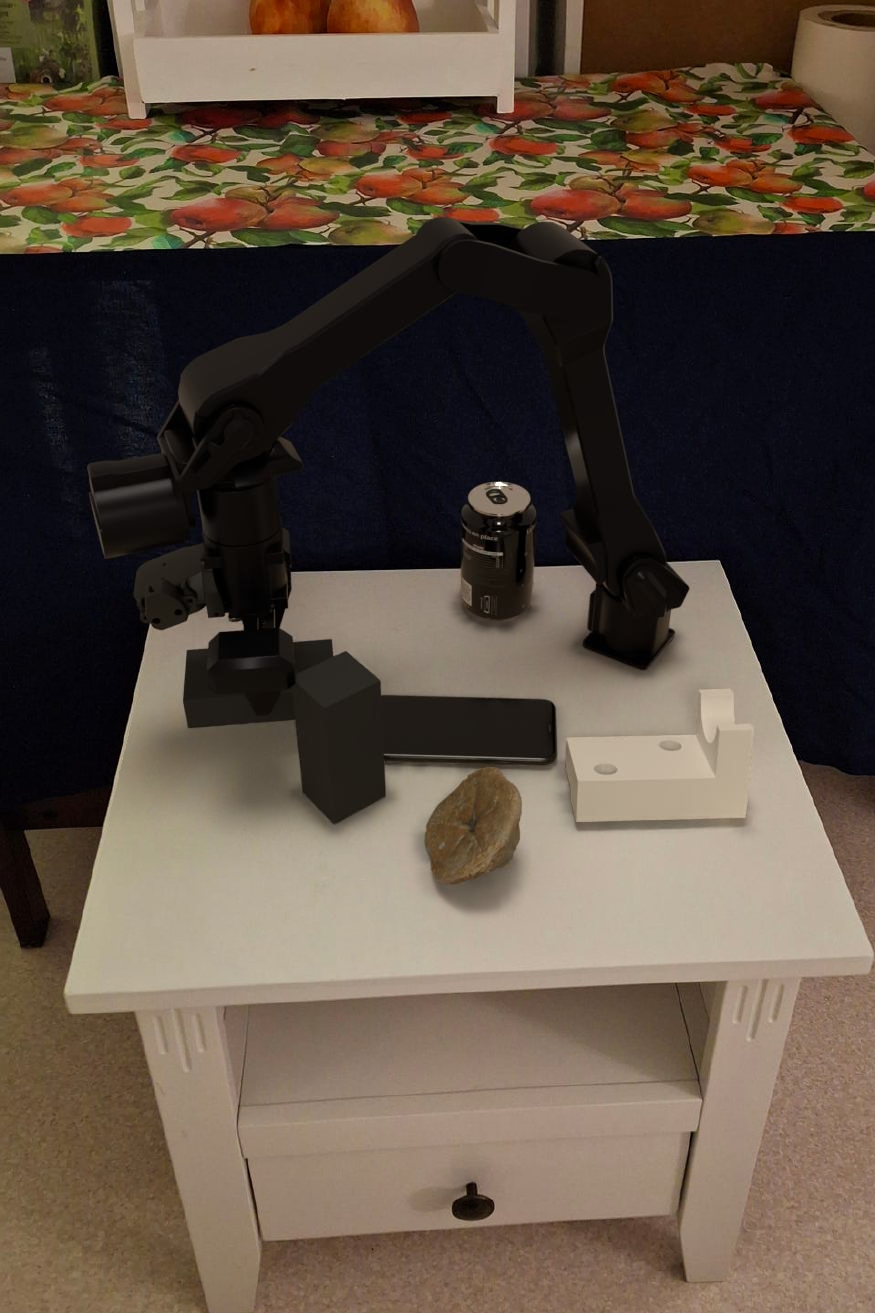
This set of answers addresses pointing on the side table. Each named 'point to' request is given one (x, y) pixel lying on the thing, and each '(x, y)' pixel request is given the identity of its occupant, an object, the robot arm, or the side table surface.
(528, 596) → the beverage can
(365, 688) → the black pad block
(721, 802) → the bracket
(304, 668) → the base pad
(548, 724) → the smartphone
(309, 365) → the robot arm
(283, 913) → the side table surface
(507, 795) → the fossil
